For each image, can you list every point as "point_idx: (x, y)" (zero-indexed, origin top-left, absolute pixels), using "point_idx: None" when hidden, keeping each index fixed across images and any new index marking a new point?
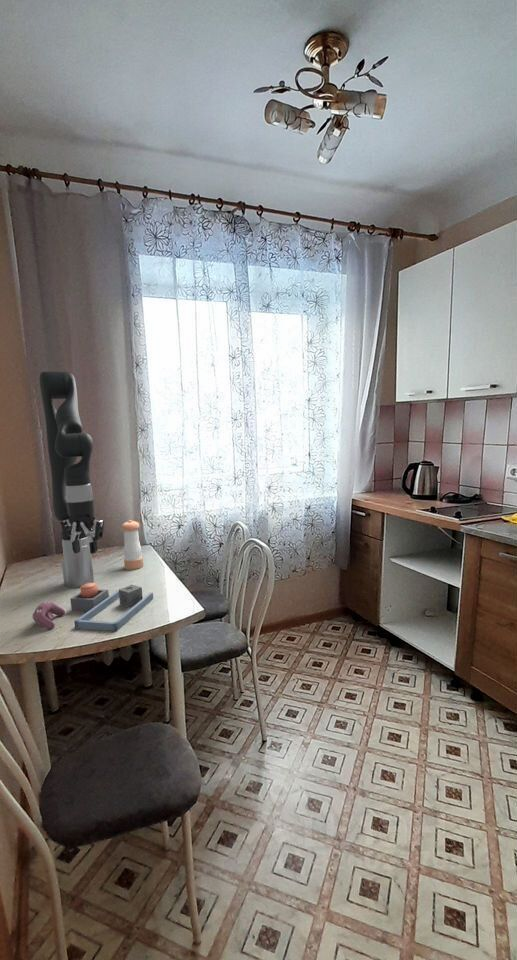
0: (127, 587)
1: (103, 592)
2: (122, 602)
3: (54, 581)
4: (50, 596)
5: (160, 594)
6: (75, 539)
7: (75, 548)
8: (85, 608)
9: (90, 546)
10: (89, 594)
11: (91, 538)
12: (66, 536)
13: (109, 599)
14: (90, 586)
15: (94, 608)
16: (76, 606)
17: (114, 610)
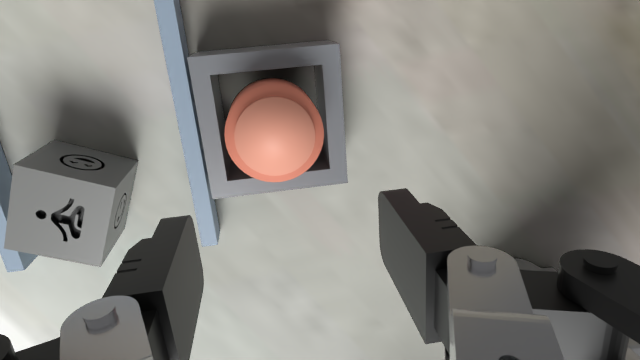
0: (88, 227)
1: (209, 161)
2: (109, 159)
3: None
4: (543, 158)
5: (27, 301)
6: (447, 301)
7: (396, 212)
8: (246, 48)
9: (160, 259)
10: (241, 92)
11: (78, 344)
12: (624, 281)
13: (186, 157)
14: (247, 122)
15: (163, 26)
16: (300, 44)
17: (111, 95)
